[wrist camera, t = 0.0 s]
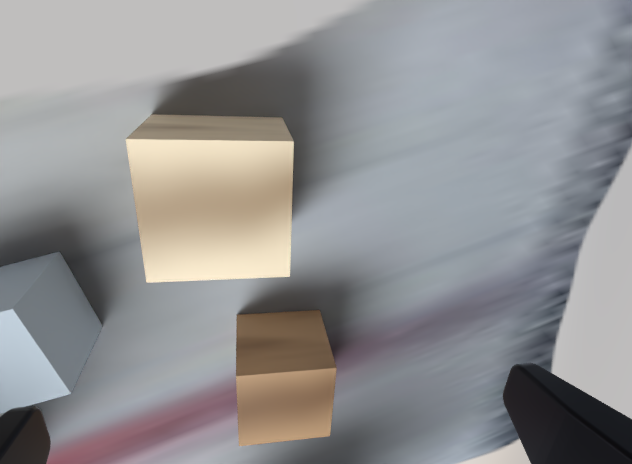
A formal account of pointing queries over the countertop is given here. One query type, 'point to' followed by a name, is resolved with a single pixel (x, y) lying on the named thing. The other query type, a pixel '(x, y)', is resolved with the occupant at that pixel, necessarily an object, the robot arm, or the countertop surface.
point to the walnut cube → (283, 377)
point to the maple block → (213, 196)
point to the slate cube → (42, 331)
